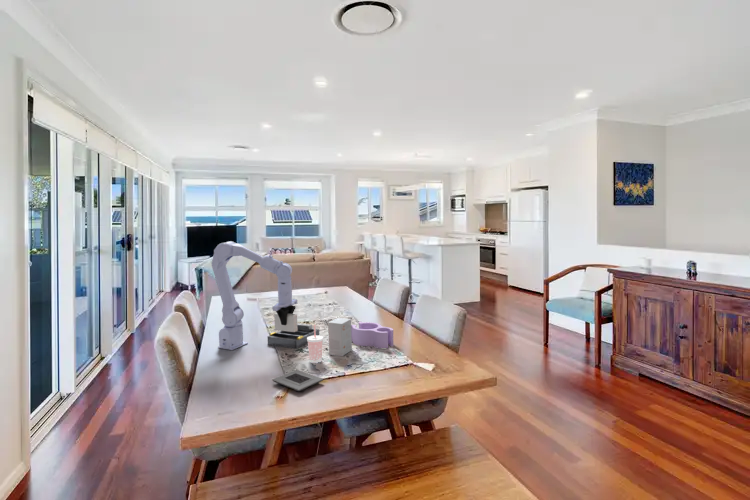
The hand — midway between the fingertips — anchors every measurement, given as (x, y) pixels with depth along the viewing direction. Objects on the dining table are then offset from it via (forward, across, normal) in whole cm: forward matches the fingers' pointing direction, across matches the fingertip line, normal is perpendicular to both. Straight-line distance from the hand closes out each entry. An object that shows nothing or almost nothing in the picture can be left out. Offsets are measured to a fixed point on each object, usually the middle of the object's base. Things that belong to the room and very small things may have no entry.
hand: (286, 324), depth 173 cm
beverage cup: (+9, -12, -22) cm, 26 cm away
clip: (+9, +16, -32) cm, 38 cm away
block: (+3, 0, 0) cm, 3 cm away
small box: (+9, 0, -26) cm, 28 cm away
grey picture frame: (+10, -32, -28) cm, 43 cm away
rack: (+9, +5, 0) cm, 10 cm away
